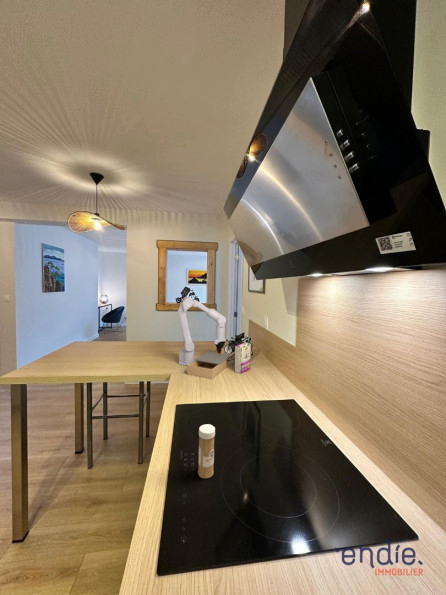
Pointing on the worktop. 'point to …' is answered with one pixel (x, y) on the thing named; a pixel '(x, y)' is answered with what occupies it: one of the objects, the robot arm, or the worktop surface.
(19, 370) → the worktop surface
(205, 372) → the carton
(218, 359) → the carton lid
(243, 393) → the worktop surface
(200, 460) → the sprinkles bottle
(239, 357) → the candy bar box
